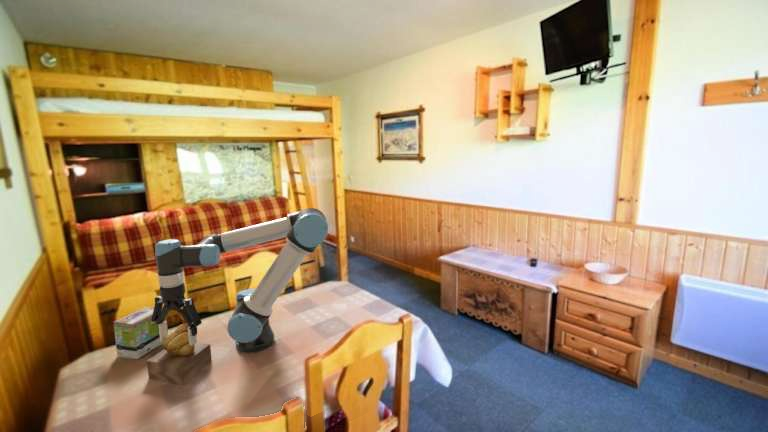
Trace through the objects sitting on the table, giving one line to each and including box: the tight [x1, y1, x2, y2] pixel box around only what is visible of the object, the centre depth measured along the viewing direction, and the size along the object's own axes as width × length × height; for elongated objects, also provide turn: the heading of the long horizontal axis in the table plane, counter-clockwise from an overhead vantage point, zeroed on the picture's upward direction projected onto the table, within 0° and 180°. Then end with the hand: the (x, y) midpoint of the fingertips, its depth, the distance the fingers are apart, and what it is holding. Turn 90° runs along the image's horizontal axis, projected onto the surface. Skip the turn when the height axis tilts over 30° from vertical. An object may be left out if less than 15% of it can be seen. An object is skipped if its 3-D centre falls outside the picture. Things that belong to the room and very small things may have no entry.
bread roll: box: [162, 323, 195, 356], centre depth 123 cm, size 13×10×8 cm
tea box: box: [113, 305, 169, 360], centre depth 138 cm, size 15×10×15 cm
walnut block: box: [146, 341, 212, 386], centre depth 125 cm, size 14×14×7 cm
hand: (178, 341), depth 123 cm, fingers closed on bread roll, 11 cm apart
